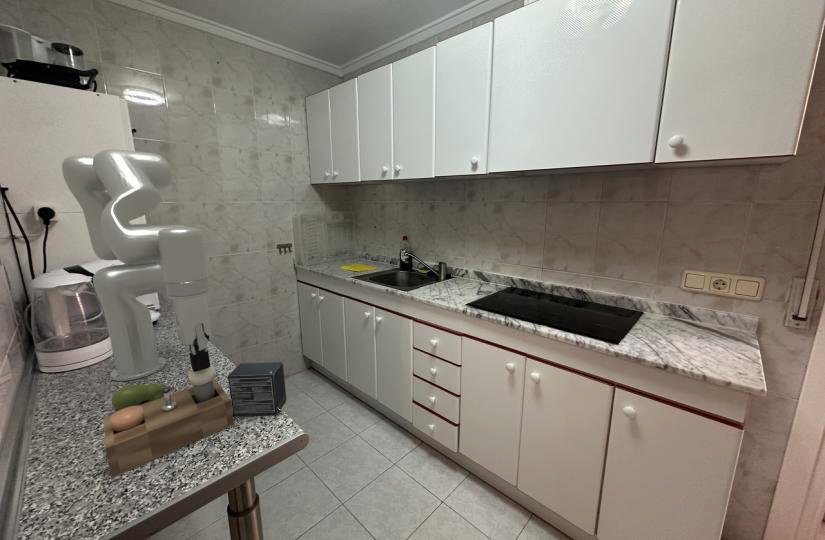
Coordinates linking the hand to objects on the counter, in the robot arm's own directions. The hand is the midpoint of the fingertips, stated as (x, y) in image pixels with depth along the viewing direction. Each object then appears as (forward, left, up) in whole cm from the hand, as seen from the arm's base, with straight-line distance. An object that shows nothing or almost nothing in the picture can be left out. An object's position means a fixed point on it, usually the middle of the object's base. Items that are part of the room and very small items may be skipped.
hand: (201, 368), depth 70 cm
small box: (+4, +10, -13) cm, 17 cm away
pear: (-19, -10, -13) cm, 25 cm away
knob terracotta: (0, -13, -12) cm, 18 cm away
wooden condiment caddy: (0, -7, -13) cm, 14 cm away
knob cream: (0, 0, -8) cm, 8 cm away
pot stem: (0, -7, -7) cm, 9 cm away
